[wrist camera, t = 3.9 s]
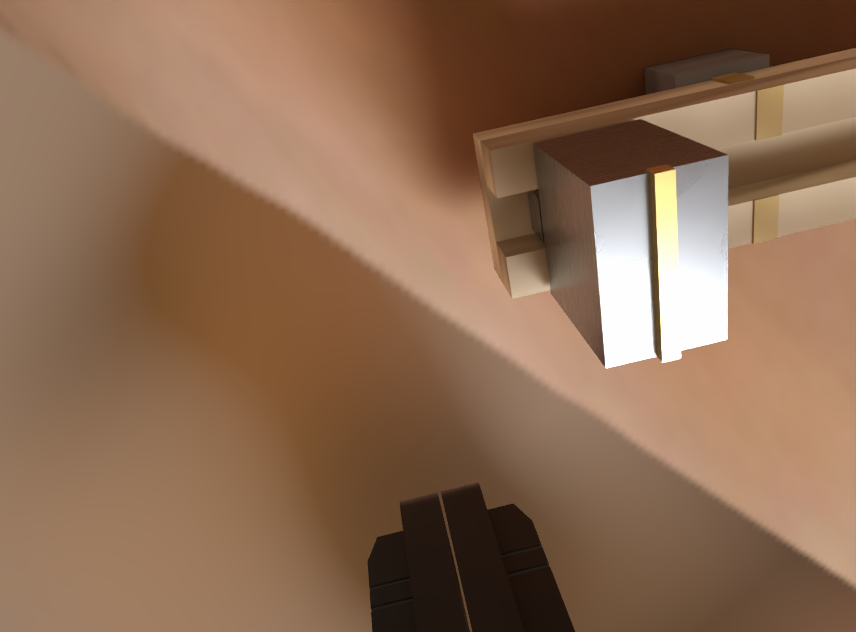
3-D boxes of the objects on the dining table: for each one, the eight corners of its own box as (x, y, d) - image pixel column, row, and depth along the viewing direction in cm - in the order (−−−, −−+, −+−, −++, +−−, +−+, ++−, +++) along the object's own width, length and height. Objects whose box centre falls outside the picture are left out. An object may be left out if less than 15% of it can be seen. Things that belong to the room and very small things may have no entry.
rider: (519, 132, 26) (594, 187, 19) (621, 109, 26) (735, 155, 19) (538, 277, 29) (610, 375, 21) (630, 255, 29) (732, 346, 21)
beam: (458, 109, 30) (488, 137, 24) (912, 8, 31) (1046, 12, 25) (482, 255, 33) (514, 310, 27) (894, 160, 34) (1009, 195, 28)
